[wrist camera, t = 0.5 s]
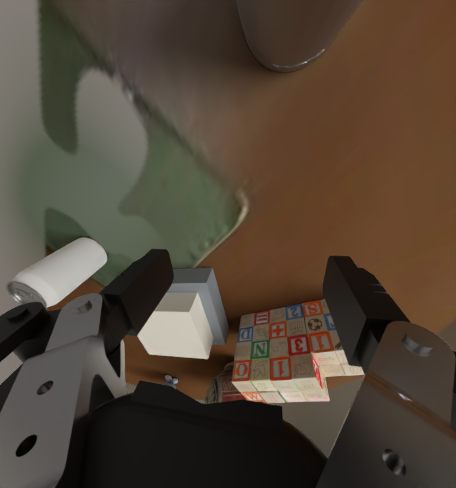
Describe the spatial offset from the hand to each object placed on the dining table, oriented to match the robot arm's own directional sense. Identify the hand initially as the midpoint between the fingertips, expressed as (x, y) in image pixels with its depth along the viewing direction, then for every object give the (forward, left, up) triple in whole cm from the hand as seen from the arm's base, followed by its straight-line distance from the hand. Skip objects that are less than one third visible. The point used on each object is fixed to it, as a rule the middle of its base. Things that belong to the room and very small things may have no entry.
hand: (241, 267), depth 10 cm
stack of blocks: (+25, +5, -18) cm, 32 cm away
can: (+8, -32, -18) cm, 38 cm away
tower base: (+21, -17, -18) cm, 33 cm away
